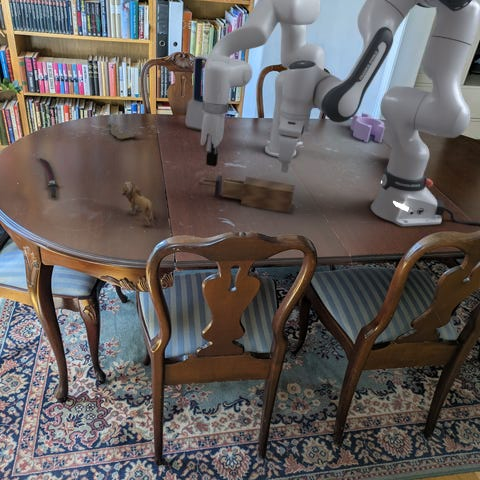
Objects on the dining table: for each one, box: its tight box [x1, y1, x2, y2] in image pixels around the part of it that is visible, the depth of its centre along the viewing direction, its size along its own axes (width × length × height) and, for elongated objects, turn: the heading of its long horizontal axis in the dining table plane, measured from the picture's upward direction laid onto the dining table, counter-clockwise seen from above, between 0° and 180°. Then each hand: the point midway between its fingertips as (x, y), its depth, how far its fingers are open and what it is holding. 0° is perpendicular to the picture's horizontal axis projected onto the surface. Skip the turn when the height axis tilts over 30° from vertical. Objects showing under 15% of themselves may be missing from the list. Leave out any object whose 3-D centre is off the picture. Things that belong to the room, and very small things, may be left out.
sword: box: [40, 158, 59, 198], centre depth 151 cm, size 31×3×1 cm, turn 26°
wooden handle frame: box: [197, 175, 245, 200], centre depth 149 cm, size 20×4×6 cm, turn 78°
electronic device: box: [184, 53, 210, 132], centre depth 194 cm, size 12×8×30 cm, turn 71°
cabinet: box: [240, 176, 296, 214], centre depth 147 cm, size 16×5×7 cm, turn 78°
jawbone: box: [109, 121, 143, 140], centre depth 188 cm, size 9×20×2 cm, turn 50°
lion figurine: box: [119, 181, 159, 227], centre depth 134 cm, size 15×5×9 cm, turn 50°
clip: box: [349, 112, 386, 143], centre depth 214 cm, size 20×12×7 cm, turn 11°
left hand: (211, 164), depth 146 cm, fingers closed
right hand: (286, 165), depth 141 cm, fingers open, 8 cm apart
